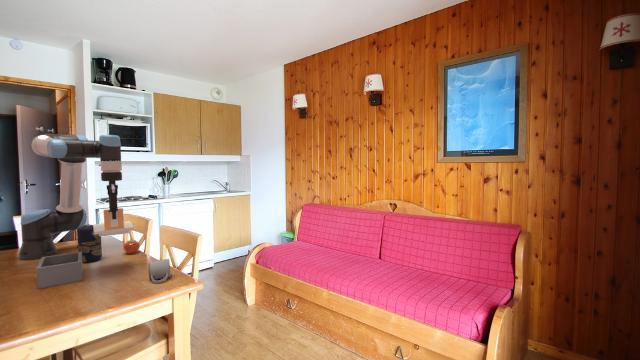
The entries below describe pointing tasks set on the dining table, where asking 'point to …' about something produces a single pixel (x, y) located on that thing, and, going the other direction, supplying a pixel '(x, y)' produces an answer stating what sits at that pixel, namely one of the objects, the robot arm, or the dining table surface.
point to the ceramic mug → (159, 270)
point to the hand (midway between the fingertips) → (114, 225)
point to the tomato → (131, 246)
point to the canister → (89, 243)
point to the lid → (108, 230)
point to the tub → (59, 269)
